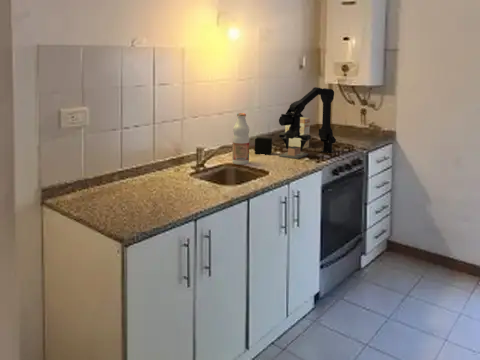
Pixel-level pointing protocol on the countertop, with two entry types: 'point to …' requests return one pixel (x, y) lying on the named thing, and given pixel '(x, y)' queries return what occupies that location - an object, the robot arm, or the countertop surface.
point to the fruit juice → (241, 140)
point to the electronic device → (263, 145)
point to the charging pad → (293, 156)
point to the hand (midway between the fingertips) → (294, 150)
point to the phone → (293, 150)
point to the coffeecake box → (303, 130)
